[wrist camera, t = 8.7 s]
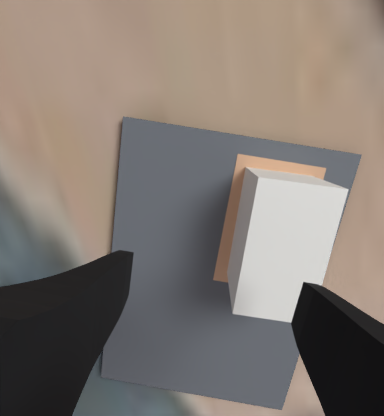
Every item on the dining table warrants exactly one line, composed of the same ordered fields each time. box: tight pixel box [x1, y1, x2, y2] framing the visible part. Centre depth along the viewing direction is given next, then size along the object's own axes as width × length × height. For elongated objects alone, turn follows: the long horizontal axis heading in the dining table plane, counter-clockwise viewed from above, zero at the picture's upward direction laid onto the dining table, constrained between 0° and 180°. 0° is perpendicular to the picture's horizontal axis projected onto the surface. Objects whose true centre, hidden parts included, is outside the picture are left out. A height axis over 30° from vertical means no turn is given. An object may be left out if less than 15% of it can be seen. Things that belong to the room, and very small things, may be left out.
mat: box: [101, 117, 361, 410], centre depth 21 cm, size 22×16×1 cm
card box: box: [227, 167, 349, 323], centre depth 17 cm, size 4×8×5 cm, turn 173°
